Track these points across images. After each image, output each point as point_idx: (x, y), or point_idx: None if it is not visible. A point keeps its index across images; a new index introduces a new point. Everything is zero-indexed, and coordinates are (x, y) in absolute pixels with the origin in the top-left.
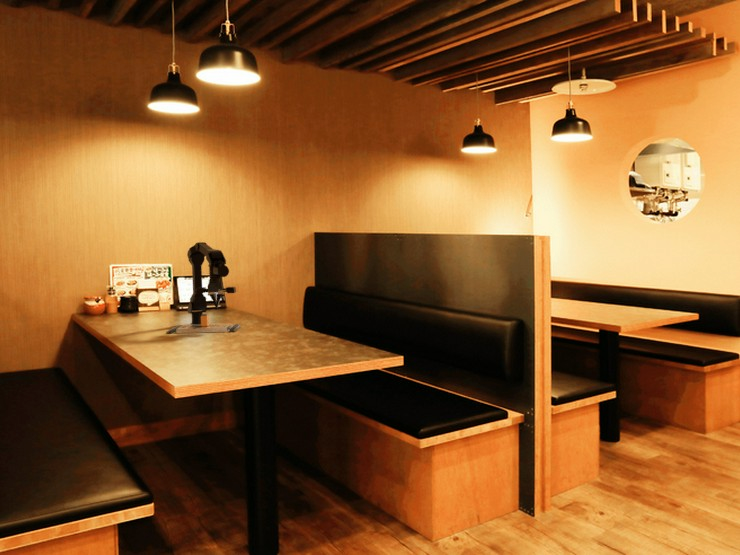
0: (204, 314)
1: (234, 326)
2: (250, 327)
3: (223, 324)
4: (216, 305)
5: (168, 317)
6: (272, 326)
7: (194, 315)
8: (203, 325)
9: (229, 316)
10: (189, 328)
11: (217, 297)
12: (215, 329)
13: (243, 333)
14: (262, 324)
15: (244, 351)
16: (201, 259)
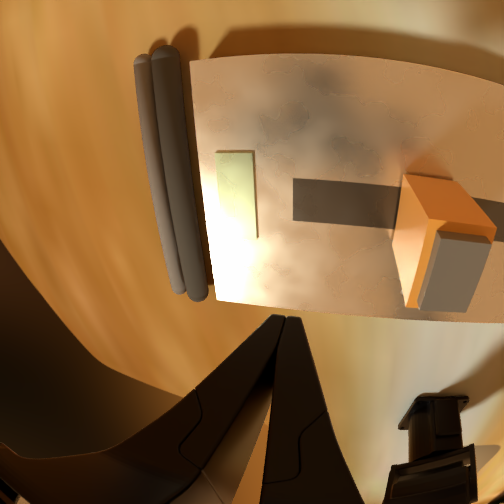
0: (460, 250)
1: (168, 184)
2: (122, 258)
3: (271, 261)
4: (274, 339)
5: None
6: (49, 259)
7: (454, 438)
8: (438, 180)
9: None
10: None
11: (171, 471)
12: (301, 54)
13: (87, 24)
14: (112, 328)
15: None
16: None
